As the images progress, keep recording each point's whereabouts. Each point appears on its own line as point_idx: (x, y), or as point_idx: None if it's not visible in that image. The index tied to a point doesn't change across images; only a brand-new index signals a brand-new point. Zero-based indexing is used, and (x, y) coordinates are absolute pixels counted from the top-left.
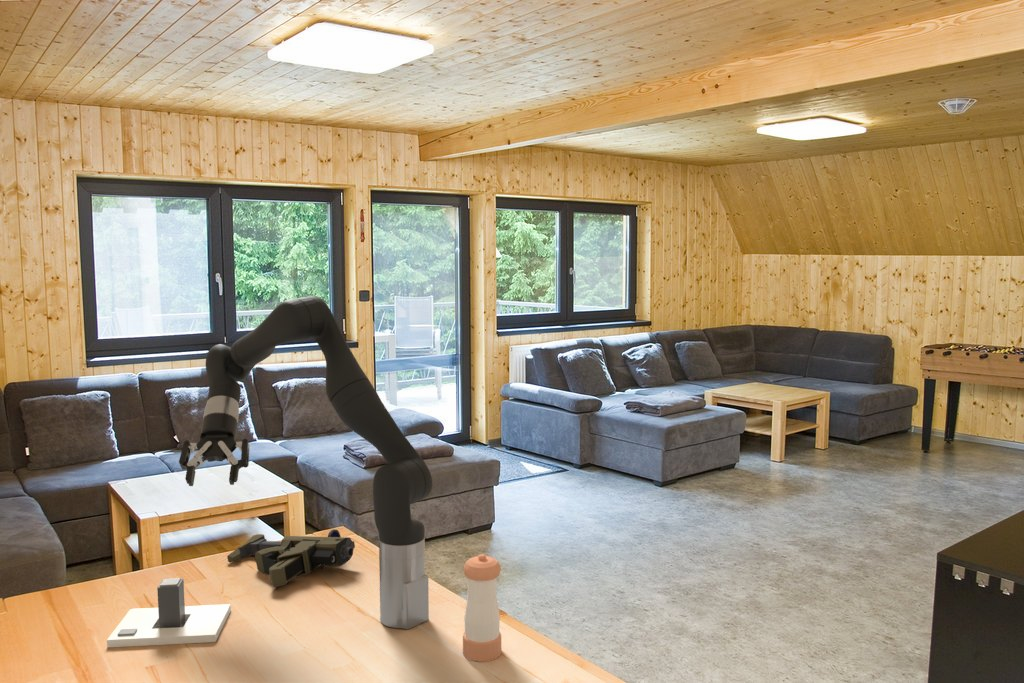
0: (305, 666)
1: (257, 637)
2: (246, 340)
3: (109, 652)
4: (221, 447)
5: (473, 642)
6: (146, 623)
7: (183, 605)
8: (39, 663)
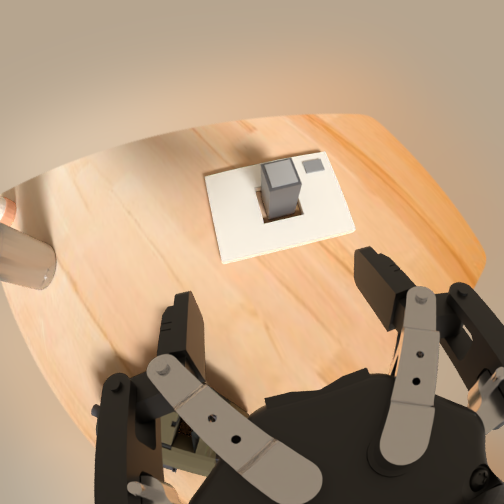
0: (108, 159)
1: (162, 199)
2: None
3: (313, 148)
4: (270, 443)
5: (4, 197)
6: (307, 191)
7: (267, 203)
8: (362, 129)
